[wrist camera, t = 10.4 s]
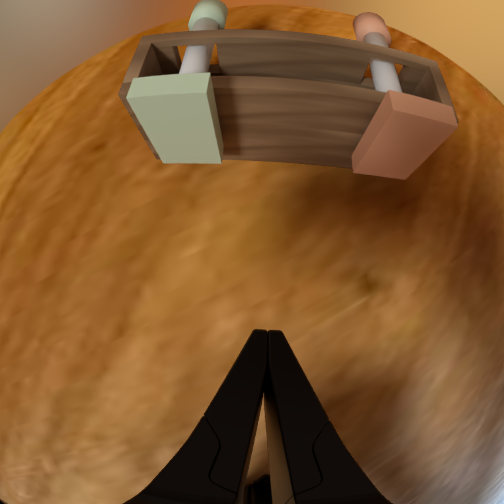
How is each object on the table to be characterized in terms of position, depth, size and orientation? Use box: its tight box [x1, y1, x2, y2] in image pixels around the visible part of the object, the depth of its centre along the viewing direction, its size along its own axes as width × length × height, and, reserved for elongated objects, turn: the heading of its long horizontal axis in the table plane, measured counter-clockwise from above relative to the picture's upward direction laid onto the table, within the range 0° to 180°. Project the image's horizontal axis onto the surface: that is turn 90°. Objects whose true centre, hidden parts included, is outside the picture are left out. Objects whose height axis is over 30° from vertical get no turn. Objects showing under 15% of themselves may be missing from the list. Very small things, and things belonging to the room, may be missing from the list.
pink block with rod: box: [352, 12, 458, 180], centre depth 19 cm, size 14×4×8 cm, turn 177°
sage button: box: [126, 0, 228, 164], centre depth 19 cm, size 14×4×8 cm, turn 177°
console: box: [118, 29, 458, 169], centre depth 21 cm, size 6×22×9 cm, turn 87°
